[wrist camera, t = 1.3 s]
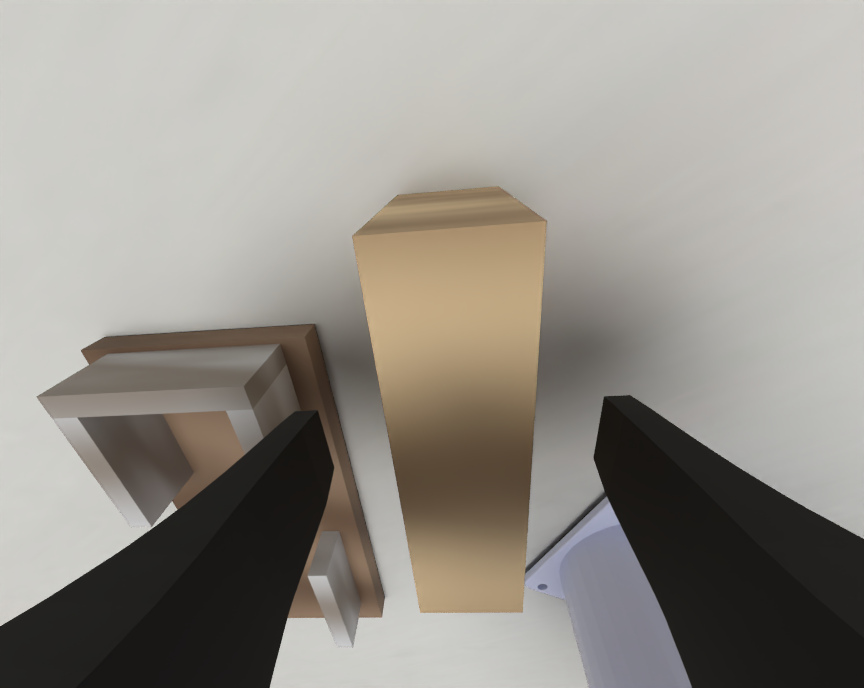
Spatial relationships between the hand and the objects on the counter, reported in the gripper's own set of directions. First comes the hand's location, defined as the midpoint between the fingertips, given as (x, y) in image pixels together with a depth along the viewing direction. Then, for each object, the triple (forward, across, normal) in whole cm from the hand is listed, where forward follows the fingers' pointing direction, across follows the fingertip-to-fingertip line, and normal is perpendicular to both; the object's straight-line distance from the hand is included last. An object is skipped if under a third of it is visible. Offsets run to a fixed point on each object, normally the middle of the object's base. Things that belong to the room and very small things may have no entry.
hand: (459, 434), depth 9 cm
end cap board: (+4, +9, +7) cm, 12 cm away
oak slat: (+5, 0, 0) cm, 5 cm away
